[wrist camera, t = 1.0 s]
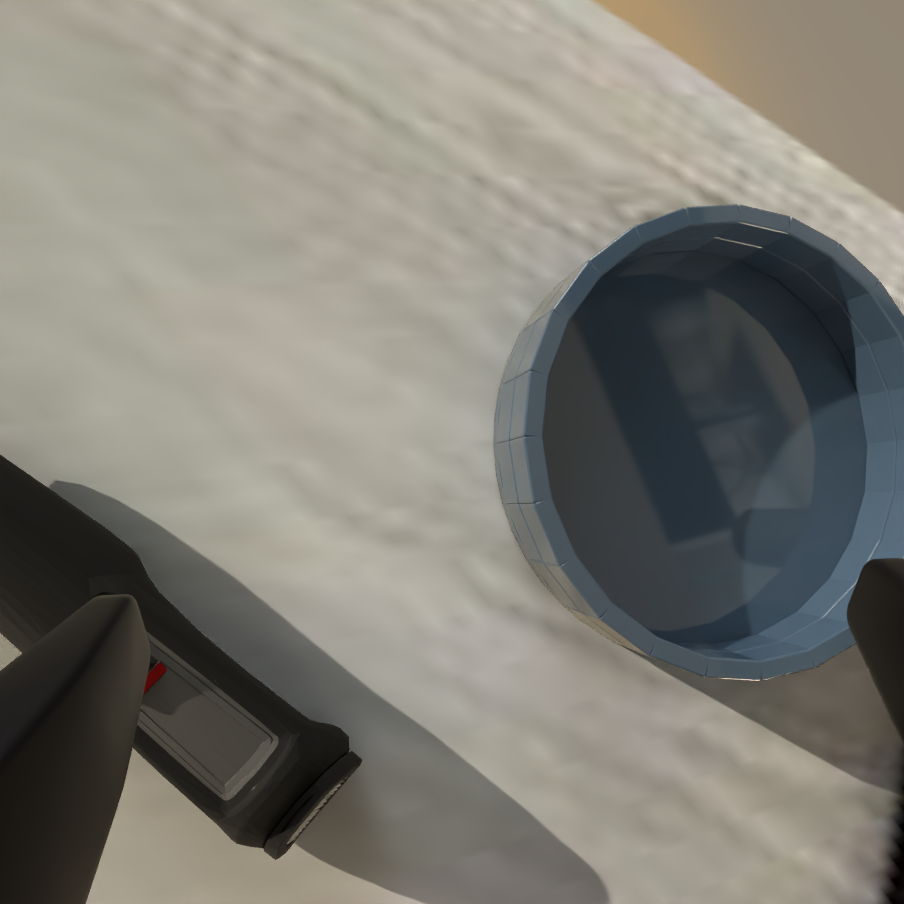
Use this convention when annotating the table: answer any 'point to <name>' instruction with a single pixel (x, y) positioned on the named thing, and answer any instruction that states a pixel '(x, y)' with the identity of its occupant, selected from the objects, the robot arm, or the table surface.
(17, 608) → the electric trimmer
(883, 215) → the table surface
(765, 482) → the bowl
